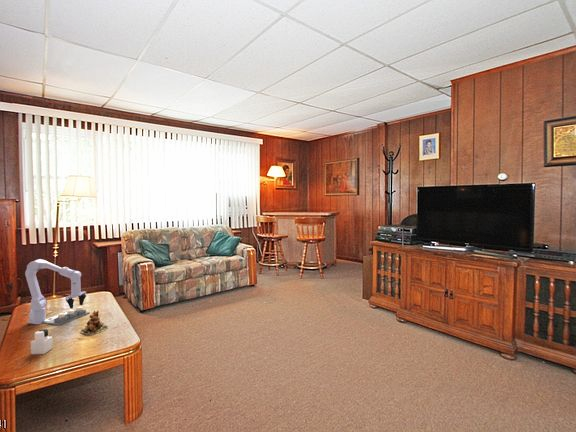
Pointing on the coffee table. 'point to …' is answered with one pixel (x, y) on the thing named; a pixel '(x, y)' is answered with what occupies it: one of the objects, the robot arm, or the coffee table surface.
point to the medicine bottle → (41, 342)
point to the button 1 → (61, 315)
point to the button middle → (70, 312)
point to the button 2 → (79, 309)
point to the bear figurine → (94, 325)
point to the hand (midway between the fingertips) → (76, 306)
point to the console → (56, 321)
